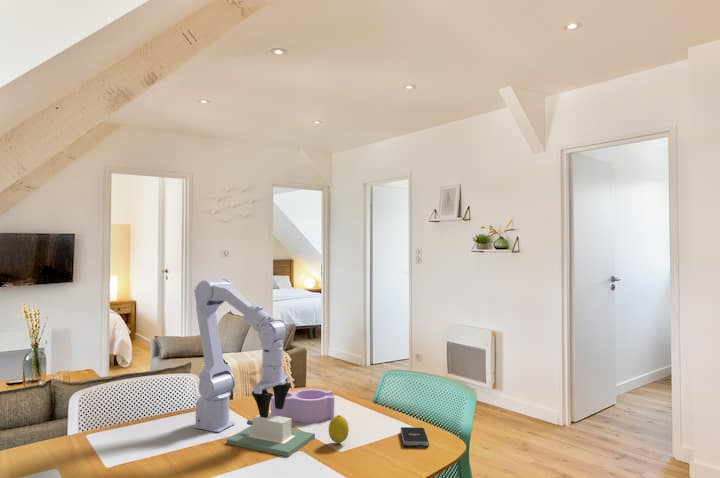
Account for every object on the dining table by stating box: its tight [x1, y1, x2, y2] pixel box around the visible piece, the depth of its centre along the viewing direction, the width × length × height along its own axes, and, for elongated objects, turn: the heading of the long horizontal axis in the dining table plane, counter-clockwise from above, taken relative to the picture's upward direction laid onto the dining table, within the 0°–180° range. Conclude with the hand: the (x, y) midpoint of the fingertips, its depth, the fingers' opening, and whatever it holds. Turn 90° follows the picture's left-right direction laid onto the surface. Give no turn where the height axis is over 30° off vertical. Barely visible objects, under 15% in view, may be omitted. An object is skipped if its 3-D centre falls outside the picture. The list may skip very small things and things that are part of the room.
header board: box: [226, 425, 316, 458], centre depth 138 cm, size 20×14×4 cm
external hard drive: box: [400, 426, 430, 449], centre depth 140 cm, size 7×11×2 cm, turn 0°
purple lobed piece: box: [270, 388, 335, 423], centre depth 159 cm, size 20×12×7 cm, turn 97°
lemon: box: [328, 414, 350, 445], centre depth 136 cm, size 6×6×8 cm
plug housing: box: [246, 413, 292, 442], centre depth 138 cm, size 13×4×5 cm, turn 66°
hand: (271, 412), depth 138 cm, fingers open, 7 cm apart
